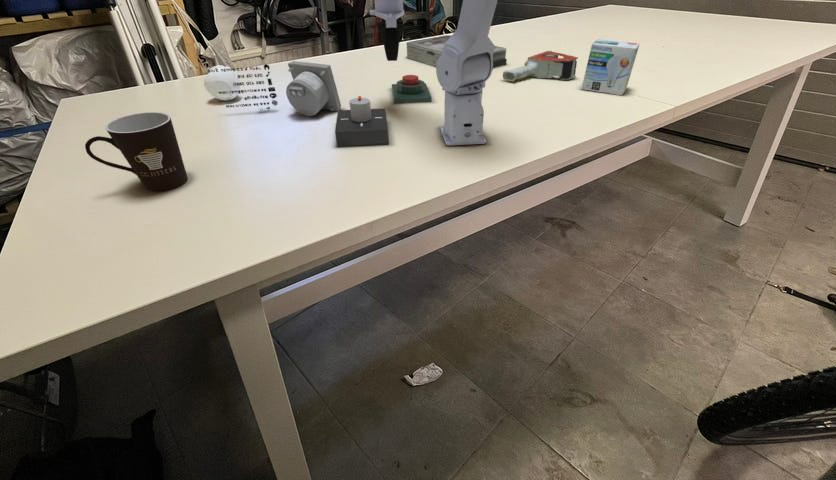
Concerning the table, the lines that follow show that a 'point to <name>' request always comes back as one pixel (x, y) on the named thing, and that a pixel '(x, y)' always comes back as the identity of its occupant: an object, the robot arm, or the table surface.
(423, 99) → the button block
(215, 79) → the motion sensor
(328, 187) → the table surface
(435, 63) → the hard drive
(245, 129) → the table surface
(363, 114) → the knob
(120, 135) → the coffee mug
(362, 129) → the dial panel
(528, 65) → the tape dispenser
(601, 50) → the light bulb box
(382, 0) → the robot arm
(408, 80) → the button
